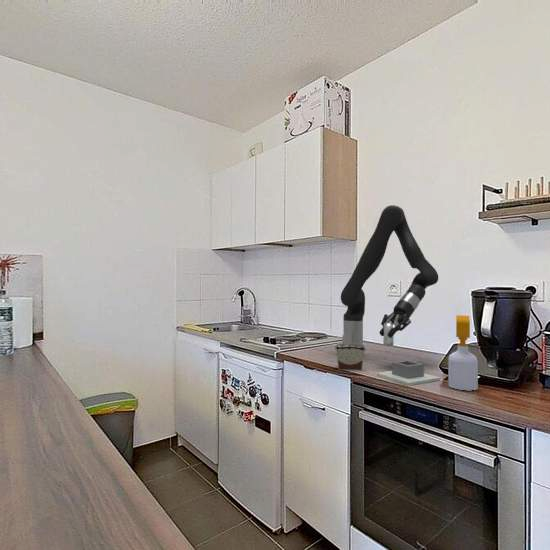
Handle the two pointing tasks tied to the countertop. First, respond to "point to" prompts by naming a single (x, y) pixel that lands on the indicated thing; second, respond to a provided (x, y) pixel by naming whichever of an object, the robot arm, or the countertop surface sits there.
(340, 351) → the food container
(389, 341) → the steel tube
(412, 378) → the plate
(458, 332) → the soap bottle
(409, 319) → the robot arm
